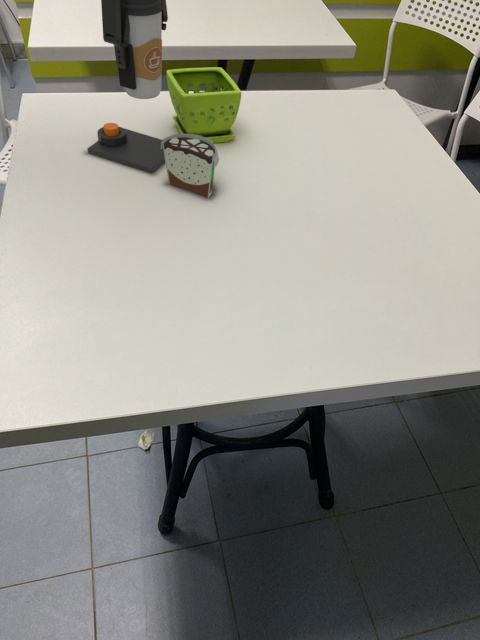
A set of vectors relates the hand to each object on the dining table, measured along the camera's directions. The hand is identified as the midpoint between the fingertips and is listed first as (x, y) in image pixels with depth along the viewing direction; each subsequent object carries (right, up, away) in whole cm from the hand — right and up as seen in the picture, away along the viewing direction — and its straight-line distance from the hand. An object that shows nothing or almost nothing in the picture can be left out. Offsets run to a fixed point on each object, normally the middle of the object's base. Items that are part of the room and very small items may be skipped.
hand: (141, 78), depth 85 cm
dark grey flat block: (-8, -3, +26) cm, 27 cm away
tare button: (-13, +1, +24) cm, 27 cm away
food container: (+7, -12, +19) cm, 24 cm away
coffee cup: (0, -2, +2) cm, 2 cm away
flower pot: (+7, +5, +34) cm, 35 cm away
